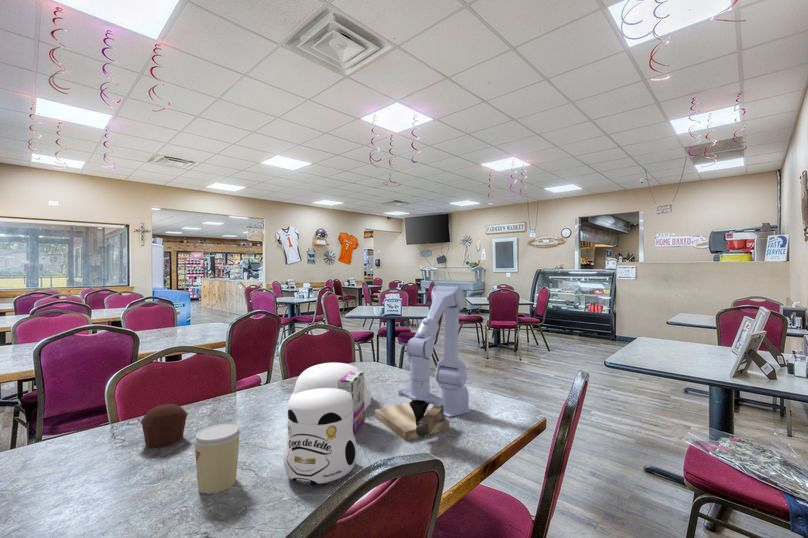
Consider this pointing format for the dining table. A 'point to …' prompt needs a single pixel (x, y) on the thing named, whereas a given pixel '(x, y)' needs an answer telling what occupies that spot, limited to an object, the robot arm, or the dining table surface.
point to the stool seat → (405, 421)
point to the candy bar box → (355, 395)
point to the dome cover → (327, 378)
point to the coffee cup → (217, 457)
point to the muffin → (164, 425)
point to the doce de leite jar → (320, 436)
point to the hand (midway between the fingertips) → (419, 425)
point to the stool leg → (429, 420)
